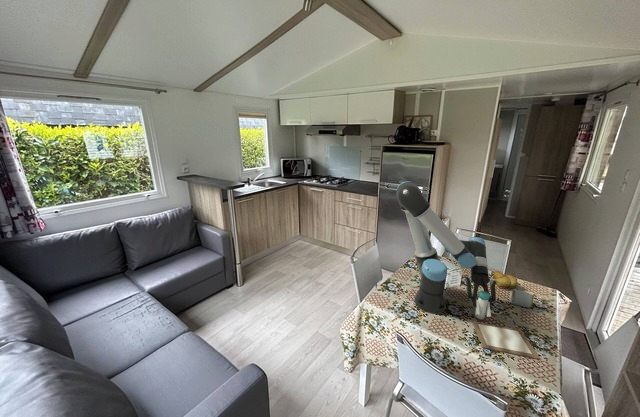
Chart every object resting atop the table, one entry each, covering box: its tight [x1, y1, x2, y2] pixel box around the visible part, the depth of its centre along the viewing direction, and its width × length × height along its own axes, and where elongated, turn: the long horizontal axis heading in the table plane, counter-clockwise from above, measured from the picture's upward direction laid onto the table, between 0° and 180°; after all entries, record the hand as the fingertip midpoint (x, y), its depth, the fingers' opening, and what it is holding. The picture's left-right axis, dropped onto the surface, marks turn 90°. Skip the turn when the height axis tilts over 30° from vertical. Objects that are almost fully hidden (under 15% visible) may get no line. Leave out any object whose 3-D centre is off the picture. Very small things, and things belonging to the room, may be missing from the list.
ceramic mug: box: [510, 288, 534, 309], centre depth 134 cm, size 11×8×8 cm
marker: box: [473, 290, 491, 322], centre depth 122 cm, size 4×4×14 cm
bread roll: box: [493, 270, 519, 290], centre depth 149 cm, size 13×10×8 cm
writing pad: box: [472, 320, 541, 360], centre depth 111 cm, size 20×16×1 cm
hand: (483, 315), depth 119 cm, fingers closed on marker, 4 cm apart
